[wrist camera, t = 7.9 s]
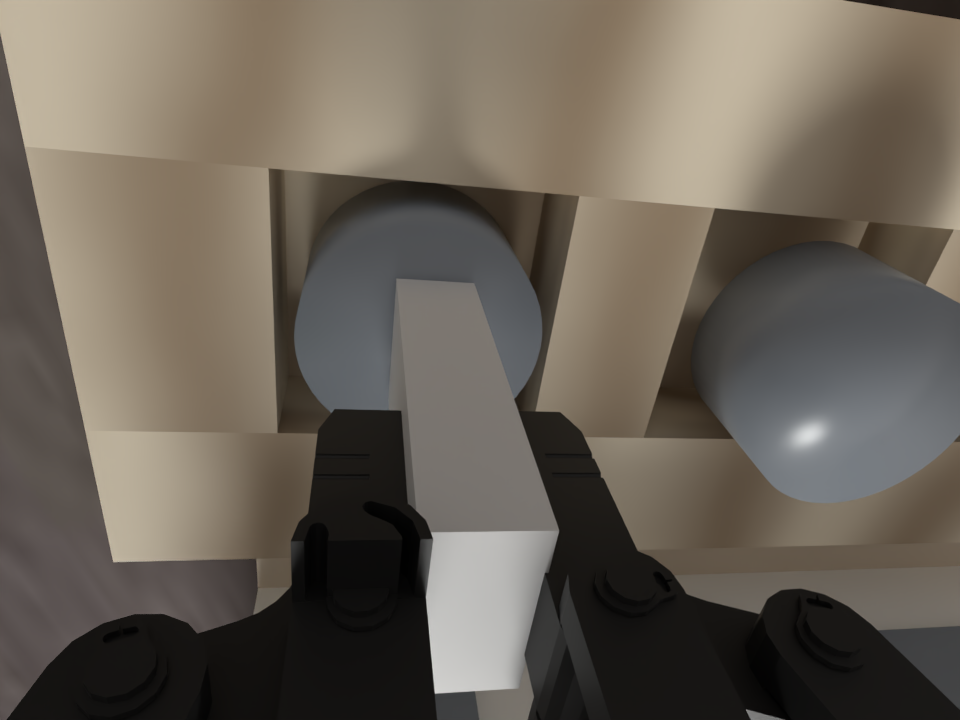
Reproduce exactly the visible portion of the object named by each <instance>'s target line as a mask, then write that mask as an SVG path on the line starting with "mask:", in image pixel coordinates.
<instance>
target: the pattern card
mask: <svg viewBox="0 0 960 720" xmlns="http://www.w3.org/2000/svg"><path fill="white" fill-rule="evenodd" d="M638 551H639V552H641V553H644V554H646V555H649V556H651V557H653V558H654V559H655V560H657V561H658V562H659V563H661V564H662V565H663V566H665V567H666V568H667V569H669V570H670V571H671V572H672V574H673V575H674V576H675V578H676V579H677V580H678V582H679V583H680V584H681V586H682V587H683V588H684V590H685V592H686V594H688V595H691V596H694V597H697V598H700V599H703V600H706V601H709V602H713V603H717V604H721V605H725V606H729V607H733V608H737V609H741V610H746V611H750V612H754V613H758V614H760V612H761V610H762V608H763V606H764V604H765V603H766V601H767V599H768V598H769V597H771V596H772V595H774V594H775V593H777V592H779V591H780V590H787V589H805V590H809V591H813V592H817V593H821V594H825V595H827V596H829V597H831V598H833V599H835V600H837V601H839V602H841V603H843V604H845V605H847V606H849V607H850V608H851V609H853V610H854V611H855V612H856V613H858V614H859V615H860V616H861V617H863V618H864V619H865V620H867V621H868V622H869V623H870V624H872V625H873V626H874V627H875V628H876V629H877V630H878V631H879V632H880V633H881V634H882V635H883V636H884V637H885V638H886V639H887V640H888V641H889V642H890V643H891V644H892V645H893V646H894V647H895V648H896V649H897V650H898V651H900V652H901V653H902V654H903V655H904V656H905V657H906V658H907V659H908V660H909V661H910V662H911V663H912V664H913V665H914V666H915V667H916V668H917V669H918V670H919V671H920V672H921V673H922V674H923V675H924V676H925V677H926V678H928V679H929V680H930V681H931V682H932V683H933V684H934V685H935V686H936V687H937V688H938V689H939V690H940V691H941V692H942V693H943V694H944V695H945V696H946V697H947V698H948V699H949V700H950V701H951V702H952V703H953V704H954V705H956V706H957V707H958V708H959V709H960V542H957V543H914V544H871V545H828V546H785V547H742V548H699V549H656V550H638ZM256 561H257V578H258V592H257V597H256V603H255V608H254V613H253V615H254V614H256V613H259V612H260V611H262V610H263V609H265V608H266V607H268V606H269V605H271V604H273V603H274V602H276V601H277V600H278V599H279V598H280V597H281V596H282V595H283V594H284V593H285V592H286V591H287V590H288V589H289V588H290V586H291V585H292V581H291V558H269V559H256ZM533 698H534V695H533V690H532V686H531V682H530V677H529V673H528V669H527V664H526V663H525V667H524V671H523V675H522V679H521V683H520V687H519V688H517V689H501V690H485V691H469V692H452V693H436V694H435V701H436V712H437V720H528V716H529V713H530V709H531V705H532V702H533Z"/></svg>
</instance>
